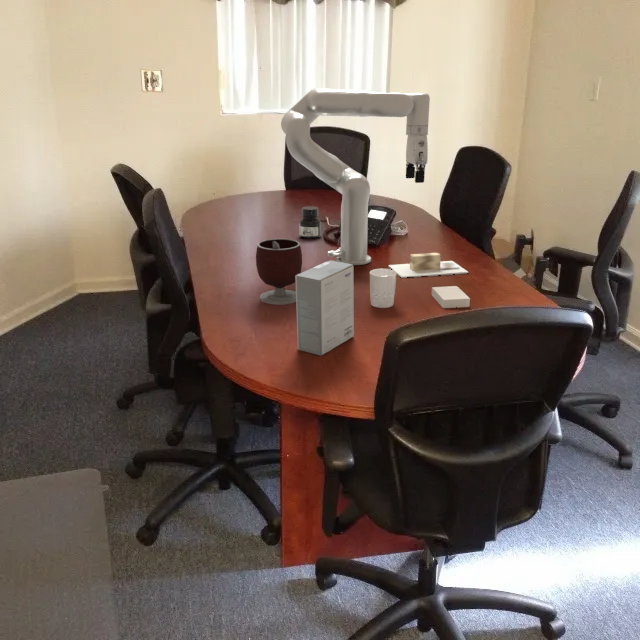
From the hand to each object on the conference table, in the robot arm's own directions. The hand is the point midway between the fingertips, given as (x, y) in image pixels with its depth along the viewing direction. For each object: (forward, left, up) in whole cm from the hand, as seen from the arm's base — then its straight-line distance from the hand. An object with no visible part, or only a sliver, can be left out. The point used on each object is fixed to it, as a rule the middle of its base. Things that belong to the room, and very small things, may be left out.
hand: (414, 180), depth 238 cm
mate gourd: (-55, -35, -28) cm, 71 cm away
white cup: (-26, -47, -28) cm, 61 cm away
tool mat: (0, -17, -28) cm, 33 cm away
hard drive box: (-49, -72, -28) cm, 92 cm away
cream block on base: (+2, -17, -28) cm, 32 cm away
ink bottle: (-30, +39, -28) cm, 57 cm away
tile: (-4, -42, -27) cm, 51 cm away
